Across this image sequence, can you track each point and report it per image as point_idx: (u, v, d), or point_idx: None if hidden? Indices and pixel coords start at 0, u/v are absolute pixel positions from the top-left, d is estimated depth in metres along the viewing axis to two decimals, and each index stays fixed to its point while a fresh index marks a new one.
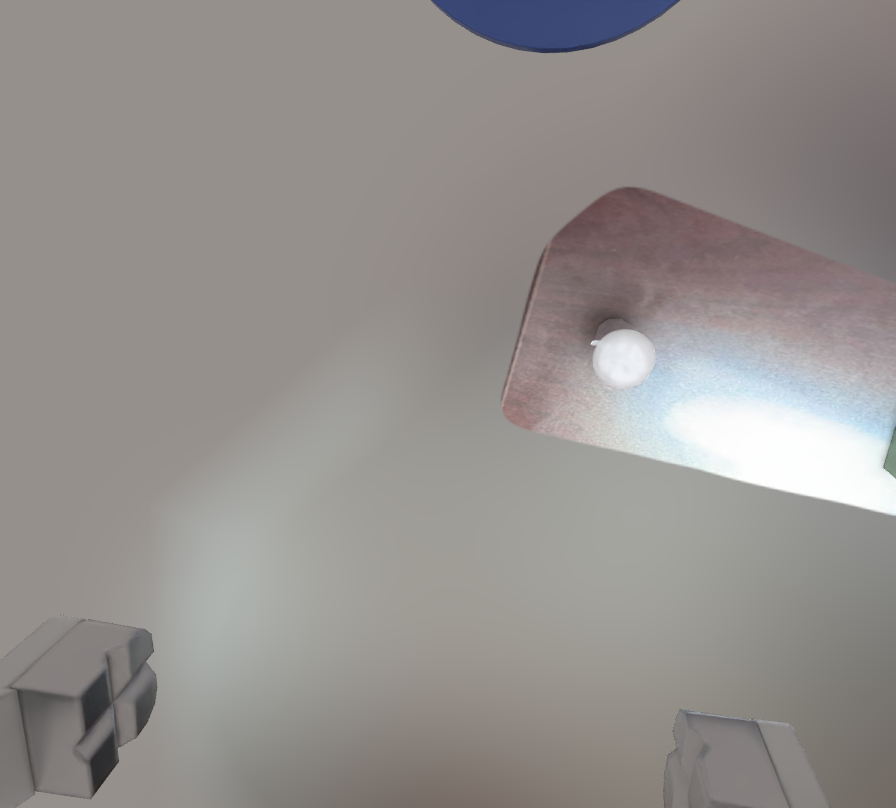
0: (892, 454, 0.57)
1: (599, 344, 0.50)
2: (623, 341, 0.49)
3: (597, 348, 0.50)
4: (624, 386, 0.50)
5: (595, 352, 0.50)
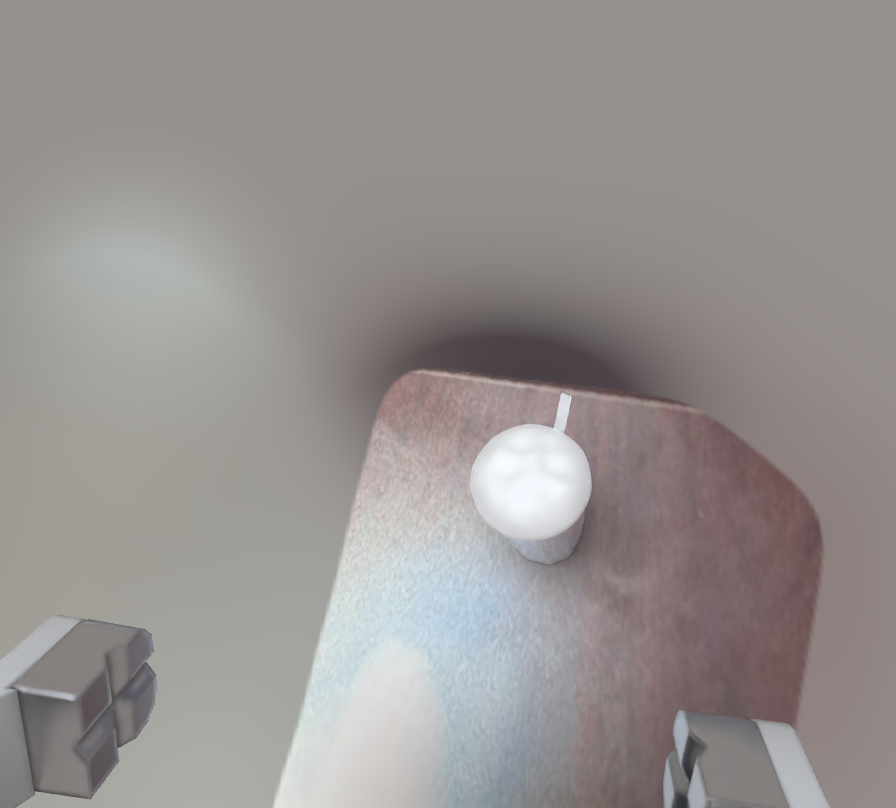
0: None
1: (557, 430, 0.26)
2: (569, 466, 0.25)
3: (548, 427, 0.26)
4: (477, 481, 0.25)
5: (540, 425, 0.26)
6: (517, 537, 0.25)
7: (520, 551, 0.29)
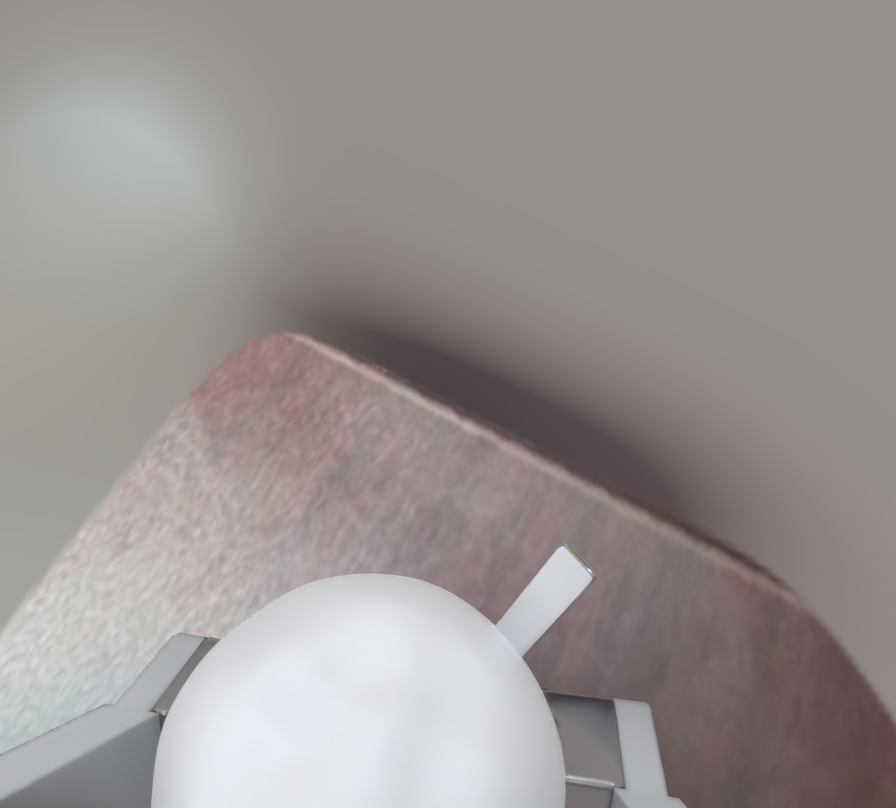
0: None
1: (502, 640, 0.08)
2: None
3: (480, 621, 0.08)
4: (175, 736, 0.07)
5: (458, 603, 0.08)
6: None
7: None
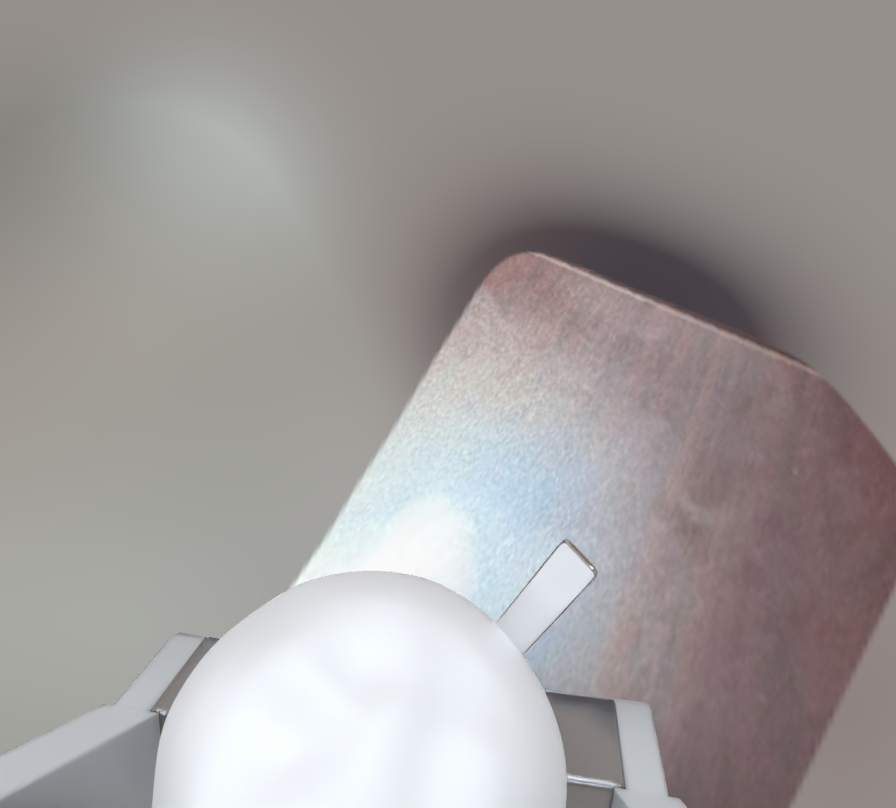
0: None
1: (503, 637, 0.08)
2: None
3: (481, 618, 0.08)
4: (177, 733, 0.07)
5: (459, 600, 0.08)
6: None
7: None
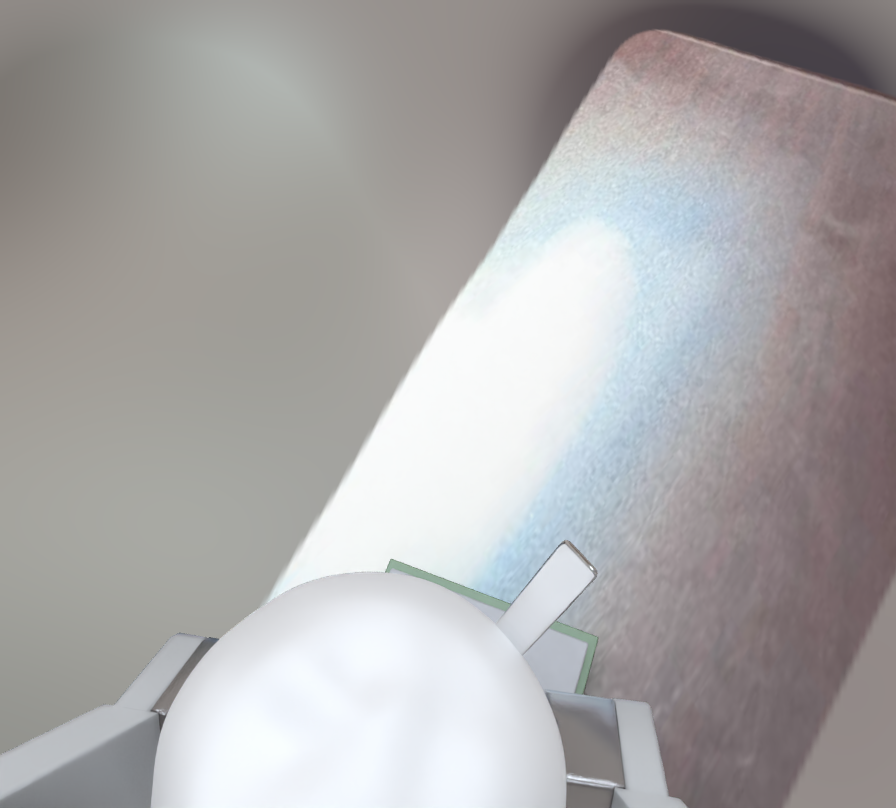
0: None
1: (503, 638, 0.08)
2: None
3: (481, 619, 0.08)
4: (176, 734, 0.07)
5: (459, 601, 0.08)
6: None
7: None
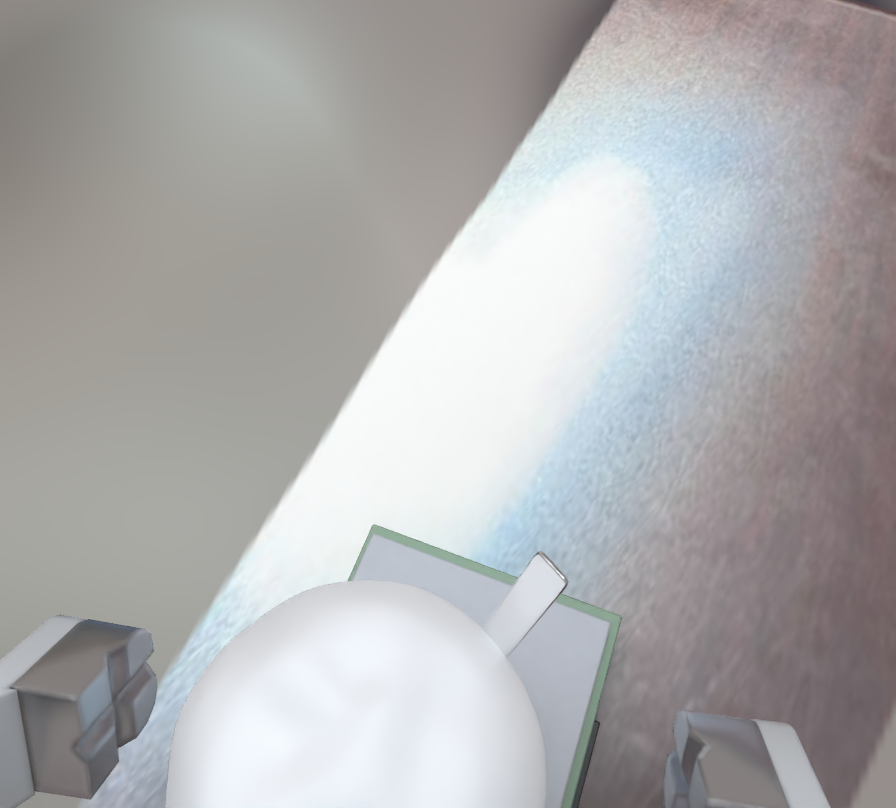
0: None
1: (489, 641, 0.08)
2: (481, 801, 0.07)
3: (468, 624, 0.09)
4: (188, 729, 0.08)
5: (448, 607, 0.09)
6: None
7: None
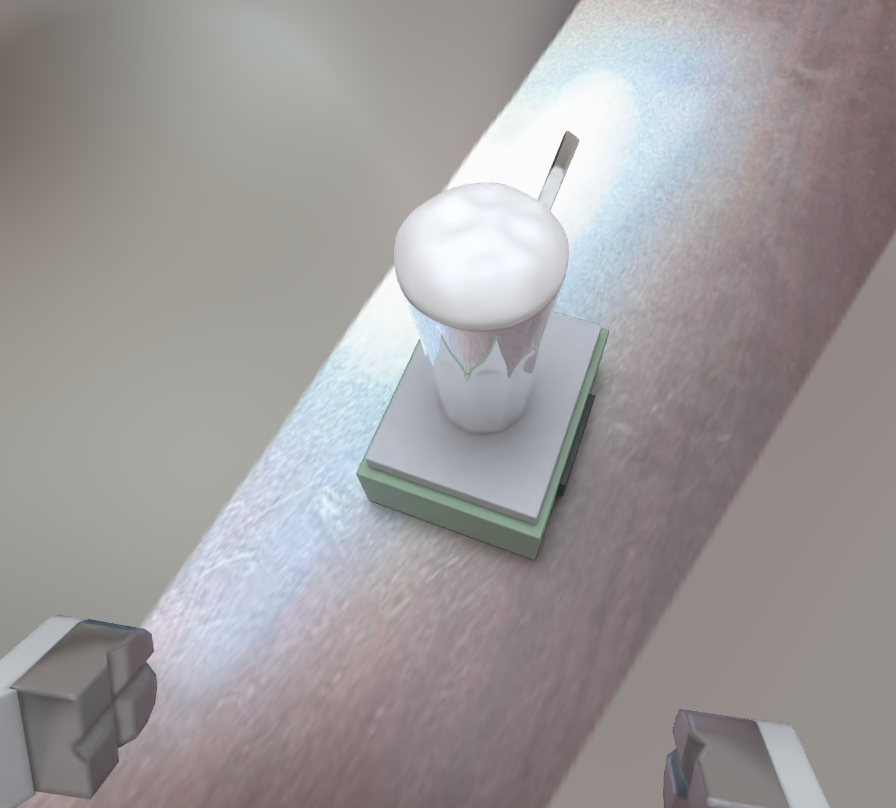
0: None
1: (541, 202, 0.18)
2: (541, 240, 0.17)
3: None
4: (407, 226, 0.17)
5: None
6: (435, 313, 0.17)
7: (439, 386, 0.22)
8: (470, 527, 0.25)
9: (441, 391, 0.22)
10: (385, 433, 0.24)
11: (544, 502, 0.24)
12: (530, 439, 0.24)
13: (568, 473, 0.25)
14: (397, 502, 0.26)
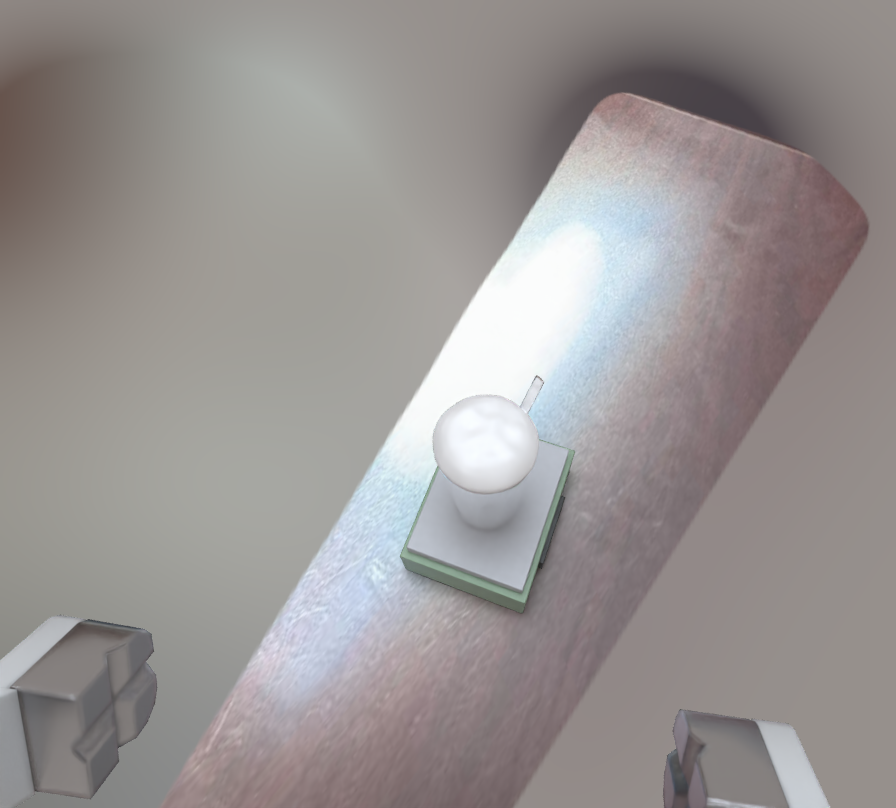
0: None
1: (522, 408, 0.29)
2: (521, 440, 0.28)
3: (516, 404, 0.29)
4: (441, 427, 0.29)
5: (510, 400, 0.30)
6: (458, 484, 0.28)
7: (458, 506, 0.33)
8: (478, 592, 0.36)
9: (459, 508, 0.33)
10: (420, 529, 0.36)
11: (528, 577, 0.35)
12: (518, 534, 0.35)
13: (545, 554, 0.36)
14: (427, 573, 0.37)
